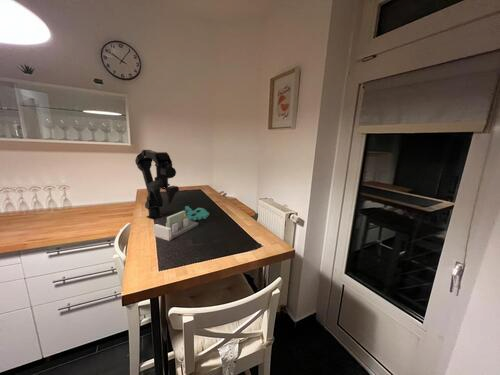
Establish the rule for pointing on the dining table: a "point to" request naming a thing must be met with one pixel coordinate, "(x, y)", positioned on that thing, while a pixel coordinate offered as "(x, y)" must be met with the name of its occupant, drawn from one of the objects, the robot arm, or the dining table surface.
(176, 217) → the cabinet door
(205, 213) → the alien figure
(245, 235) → the dining table surface
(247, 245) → the dining table surface
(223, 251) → the dining table surface
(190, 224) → the hinge base
